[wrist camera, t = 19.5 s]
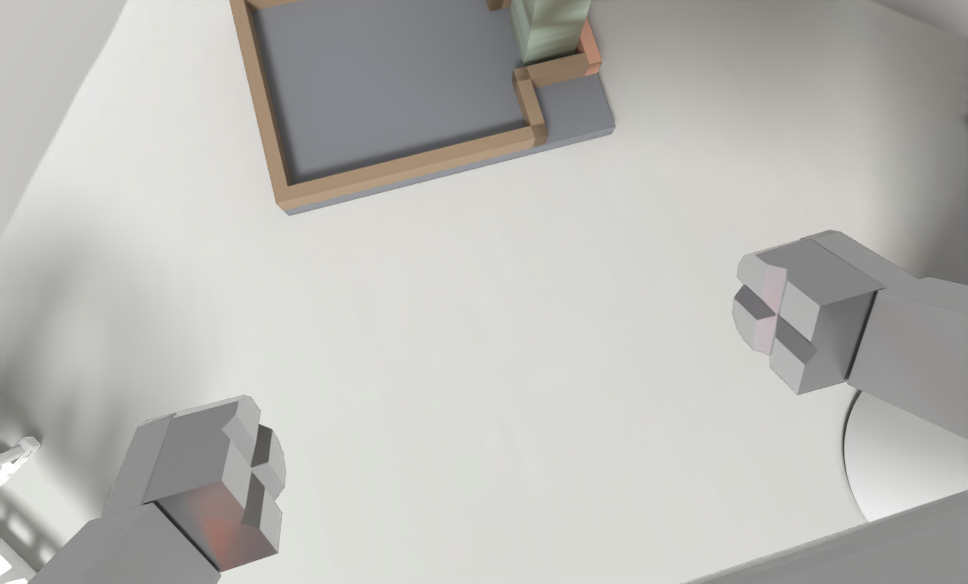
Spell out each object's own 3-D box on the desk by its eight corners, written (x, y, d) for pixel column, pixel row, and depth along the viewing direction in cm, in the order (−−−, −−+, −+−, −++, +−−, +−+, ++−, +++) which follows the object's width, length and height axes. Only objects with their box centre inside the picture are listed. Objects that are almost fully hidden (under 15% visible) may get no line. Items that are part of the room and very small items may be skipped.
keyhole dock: (547, -55, 44) (552, -83, 41) (611, 133, 41) (621, 116, 39) (241, 13, 42) (226, -12, 39) (288, 215, 39) (276, 203, 37)
